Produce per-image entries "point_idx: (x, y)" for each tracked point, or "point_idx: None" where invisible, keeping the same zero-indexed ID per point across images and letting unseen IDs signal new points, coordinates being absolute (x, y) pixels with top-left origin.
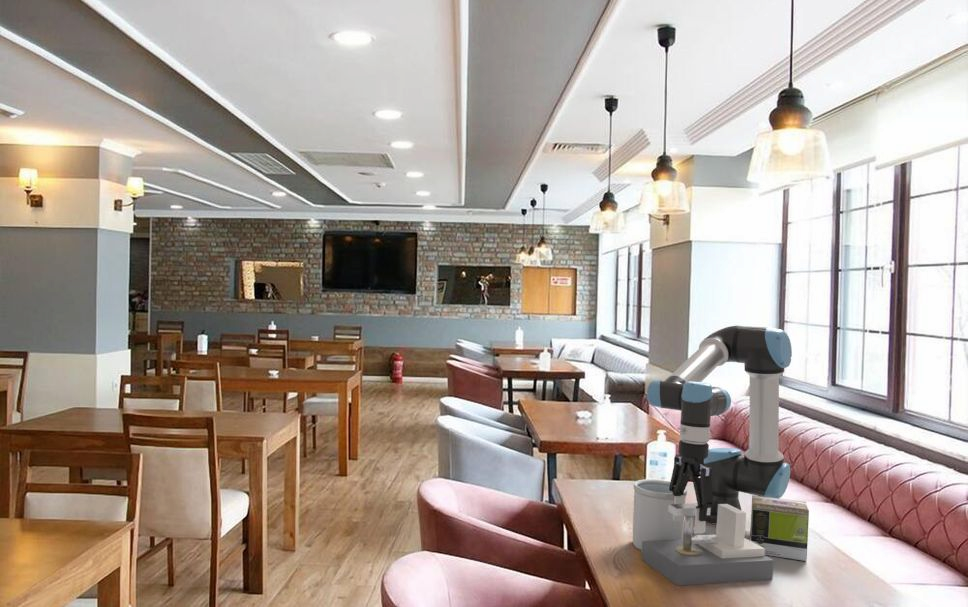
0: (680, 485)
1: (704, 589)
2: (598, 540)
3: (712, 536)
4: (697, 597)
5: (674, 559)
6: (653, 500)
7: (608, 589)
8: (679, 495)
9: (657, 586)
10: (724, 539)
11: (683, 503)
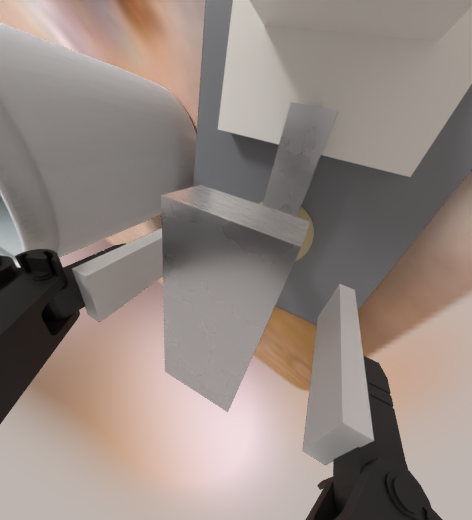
0: (4, 399)
1: (395, 278)
2: (128, 238)
3: (293, 109)
4: (408, 325)
5: (303, 309)
6: (65, 252)
7: (282, 375)
8: (76, 293)
9: (315, 328)
10: (337, 24)
11: (128, 259)
